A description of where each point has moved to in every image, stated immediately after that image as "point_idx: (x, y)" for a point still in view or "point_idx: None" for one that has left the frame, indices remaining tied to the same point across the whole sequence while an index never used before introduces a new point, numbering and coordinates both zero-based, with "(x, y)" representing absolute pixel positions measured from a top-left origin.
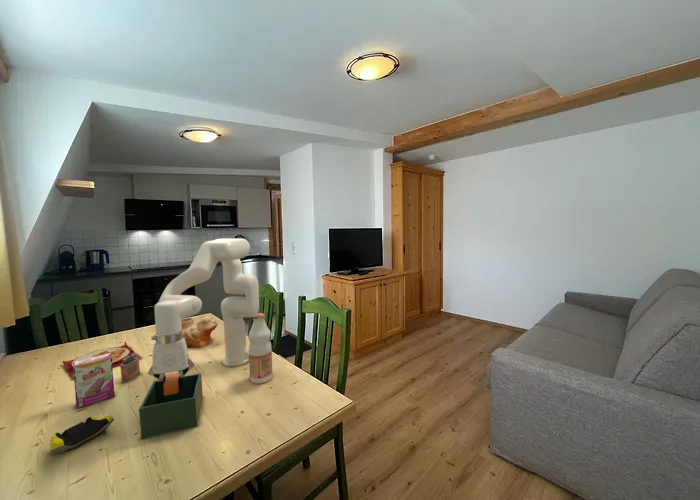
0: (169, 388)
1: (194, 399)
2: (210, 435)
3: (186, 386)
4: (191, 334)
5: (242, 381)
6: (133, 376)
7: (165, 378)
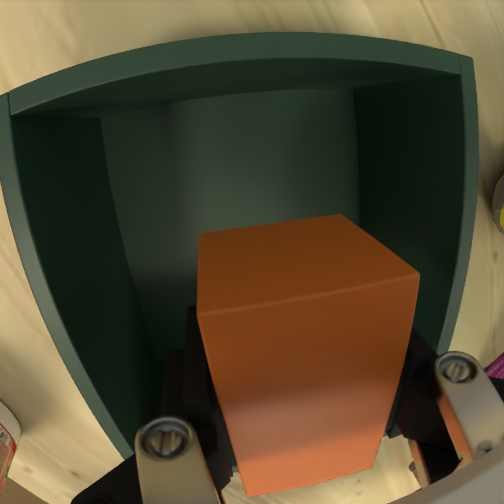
0: (308, 250)
1: (3, 98)
2: (22, 37)
3: None
4: None
5: (39, 419)
6: None
7: (395, 413)
